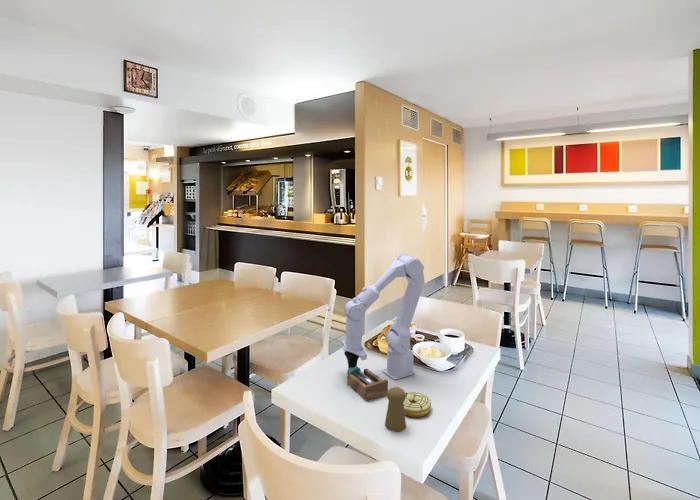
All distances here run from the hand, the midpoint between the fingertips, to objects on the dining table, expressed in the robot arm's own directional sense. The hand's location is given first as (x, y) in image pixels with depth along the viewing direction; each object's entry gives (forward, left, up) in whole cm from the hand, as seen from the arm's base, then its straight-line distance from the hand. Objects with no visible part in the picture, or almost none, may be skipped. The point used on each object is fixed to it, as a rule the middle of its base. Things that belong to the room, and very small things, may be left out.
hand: (352, 370), depth 136 cm
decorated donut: (-6, +26, -3) cm, 27 cm away
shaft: (0, +7, -2) cm, 7 cm away
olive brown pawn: (+4, +30, -3) cm, 30 cm away
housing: (0, +9, -3) cm, 10 cm away
